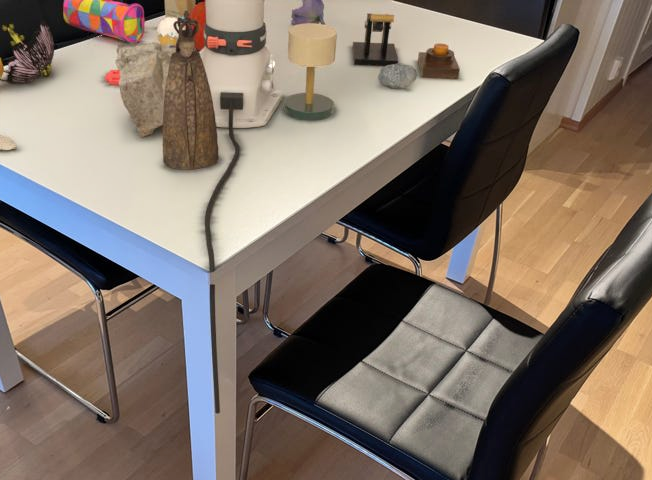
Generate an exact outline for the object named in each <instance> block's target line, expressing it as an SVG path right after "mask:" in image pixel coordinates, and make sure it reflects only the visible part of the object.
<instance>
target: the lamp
mask: <svg viewBox="0 0 652 480" xmlns="http://www.w3.org/2000/svg"><path fill="white" fill-rule="evenodd" d="M337 36H338V31H337V30H336V28H334V27H332V26H330V25H326V24H325V25H323V24H321V23H319V24H314V23H305V24H298V25H294V26H293V25H291V26H290V27H289V29H288V36H287V37H288V42H287V59H288V61H289V62H290V63H292V64H294V65H297V66H300V67H301V66H302V67H306V73H305V74H306V75H305V92H298V93H294V94H291V95H288V96H287V97H285V98H284V100H283V112H284V113H285V114H286V115H287V116H288V117H291V118H294V119H297V120H300V121H321V120H325V119H328V118H329V117H331V116H333V114H334V111H335V101H334V100H333V99H332V98H331V97H329V96H327V95H324V94H321V93H316V92H315V76H316V68H321V67H326V66H327V67H328V66H329V65H332V64H333V63H334V62H335V61H336V53H337V52H336V51H337V38H338V37H337Z"/></svg>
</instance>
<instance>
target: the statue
mask: <svg viewBox="0 0 652 480" xmlns="http://www.w3.org/2000/svg"><path fill="white" fill-rule="evenodd" d="M184 12H185V13H184V17H185V18H184V19H182V18H178V19H177V21H175V22H174V24H173V27H174V29H175V30H176V31H177V33H178V34H179V36H178V40H177V42H176V52H174V53H172V55H171V59H170V64H169V70H168V76H167V82H166V88H165V96H164V111H163V125H162V160H163V161H162V162H163V163H164V164H165V165H166V166H167V167H169V168H172V169H177V170H178V169H179V170H180V169H181V170H191V169H192V170H197V169H202V168H209V167H211V166H214V165H216V164H217V163H218V161H219V158H220V155H219V144H218V143H219V142H218V138H219V137H218V129H217V128H218V127H216V121H215V112H214V107H213V101H212V95H211V91H210V86H209V82H208V78H207V74H206V71H205V68H204V65H203V62H202V59H201V55H200V53H199V52H200V51H197V50H195V47H194V46H195V43H196V41H195V40H194V36H195V35H196V33H197V32H198V30H199V26H198V22H197V20H194V19H193V20H192V19H191V18H189V17H188V16H189V13H188V11H184ZM190 19H191V20H190ZM194 22H195V23H194ZM181 23H182V24H181ZM176 24H178V27H179V30H178V29H177V26H176ZM191 25H193V26H195V27H194V29H193V30H192V27H191ZM184 26H186V29H185V30H182V28H183V27H184Z"/></svg>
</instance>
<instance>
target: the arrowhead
mask: <svg viewBox="0 0 652 480" xmlns="http://www.w3.org/2000/svg"><path fill="white" fill-rule="evenodd" d="M16 147H17V144H16V143H14V142H13V140H12V139H11V138H10V137H7V136H5V135H2V134H0V150H4V151H10V150H14V149H16Z"/></svg>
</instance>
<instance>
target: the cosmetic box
mask: <svg viewBox="0 0 652 480" xmlns="http://www.w3.org/2000/svg"><path fill="white" fill-rule="evenodd" d="M196 3H197V1H196V0H164V15H165V17H164V18H167V17H172V18H177V19H178V17H182V16H184V13H185V12H184V11H188V13H189V16H188V17H190V15H191V12H192V10H193V9H194V7H195V6H196V5H197V4H196ZM184 18H185V17H184ZM185 27H186V26H185Z"/></svg>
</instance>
